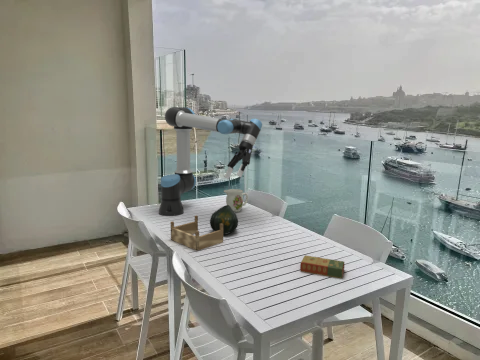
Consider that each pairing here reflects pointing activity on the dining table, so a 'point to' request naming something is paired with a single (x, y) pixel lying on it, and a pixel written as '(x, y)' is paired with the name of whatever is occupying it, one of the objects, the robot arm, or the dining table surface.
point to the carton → (322, 266)
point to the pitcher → (235, 199)
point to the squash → (224, 219)
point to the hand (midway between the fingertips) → (232, 177)
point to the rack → (196, 242)
